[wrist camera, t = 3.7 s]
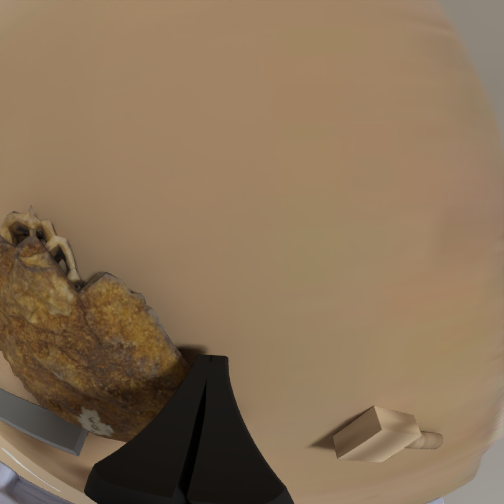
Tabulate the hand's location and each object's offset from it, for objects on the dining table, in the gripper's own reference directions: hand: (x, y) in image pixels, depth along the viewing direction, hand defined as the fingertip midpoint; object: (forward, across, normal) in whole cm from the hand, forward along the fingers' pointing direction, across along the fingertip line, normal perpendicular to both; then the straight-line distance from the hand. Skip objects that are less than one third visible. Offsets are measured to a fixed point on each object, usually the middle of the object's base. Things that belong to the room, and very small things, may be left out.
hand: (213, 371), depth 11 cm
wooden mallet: (+1, -13, +10) cm, 17 cm away
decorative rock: (+2, +7, 0) cm, 7 cm away
